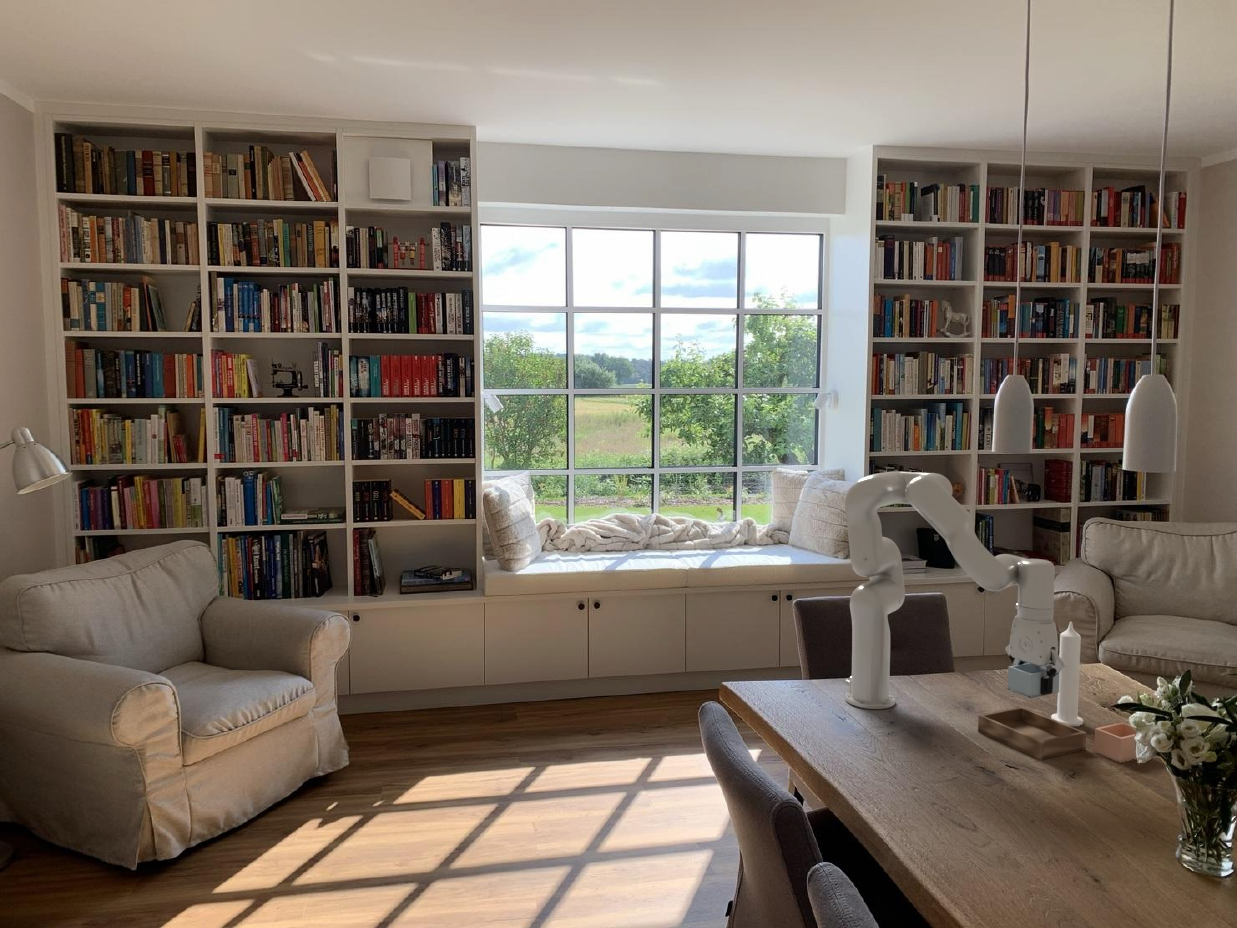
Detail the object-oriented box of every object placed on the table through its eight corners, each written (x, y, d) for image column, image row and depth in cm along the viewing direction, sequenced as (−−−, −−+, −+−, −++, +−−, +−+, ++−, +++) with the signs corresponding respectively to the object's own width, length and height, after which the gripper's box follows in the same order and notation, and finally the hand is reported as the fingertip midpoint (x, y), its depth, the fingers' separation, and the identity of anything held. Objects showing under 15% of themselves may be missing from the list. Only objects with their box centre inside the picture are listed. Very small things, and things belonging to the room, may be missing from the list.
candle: (1076, 728, 215) (1080, 627, 213) (1046, 720, 220) (1049, 621, 218) (1087, 721, 219) (1092, 621, 217) (1058, 713, 225) (1062, 616, 223)
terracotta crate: (1093, 752, 201) (1094, 728, 201) (1121, 745, 205) (1122, 722, 204) (1120, 763, 195) (1121, 738, 195) (1148, 756, 199) (1149, 732, 198)
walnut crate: (977, 731, 213) (978, 715, 213) (1020, 722, 219) (1021, 706, 219) (1040, 760, 197) (1041, 742, 197) (1085, 749, 203) (1086, 732, 202)
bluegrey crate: (1007, 689, 208) (1008, 666, 208) (1035, 684, 212) (1036, 661, 211) (1030, 698, 202) (1031, 674, 202) (1059, 692, 206) (1059, 669, 205)
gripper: (993, 606, 212) (991, 680, 213) (1055, 623, 196) (1053, 703, 197) (1016, 603, 215) (1014, 676, 216) (1079, 619, 199) (1077, 698, 200)
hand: (1033, 688), depth 207 cm, fingers closed on bluegrey crate, 6 cm apart
